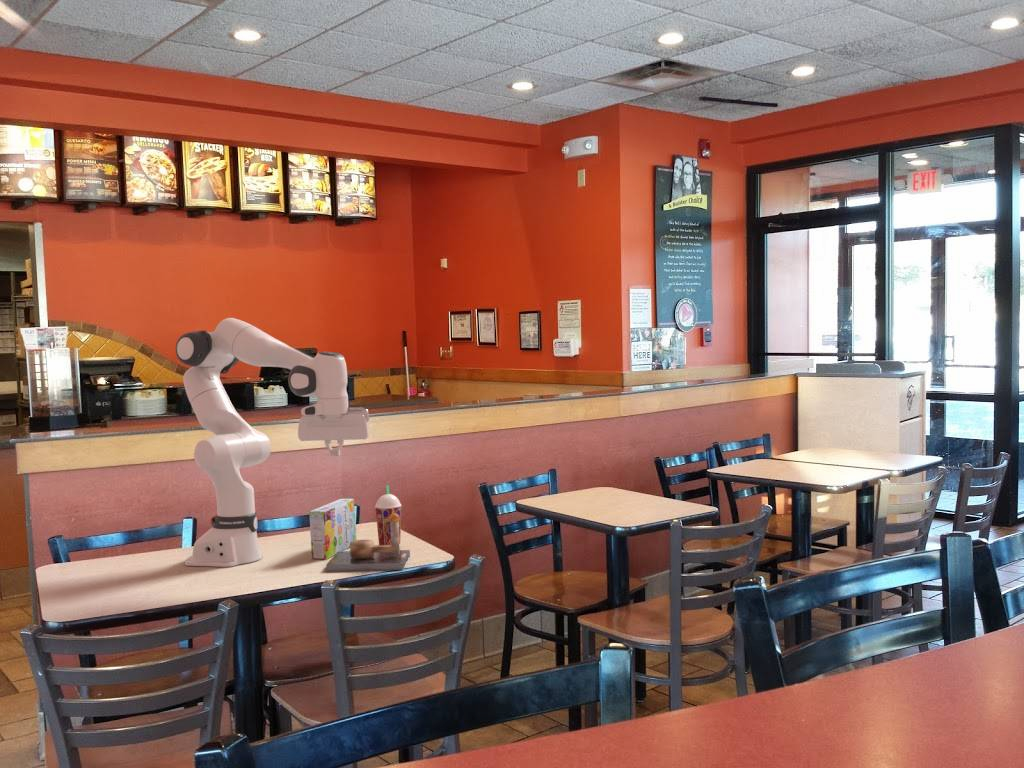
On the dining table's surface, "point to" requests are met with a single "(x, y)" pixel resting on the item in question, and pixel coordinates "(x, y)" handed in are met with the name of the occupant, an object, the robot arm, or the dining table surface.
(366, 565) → the stand plate
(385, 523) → the smoothie
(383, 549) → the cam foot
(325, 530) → the snack box
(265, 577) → the dining table surface
